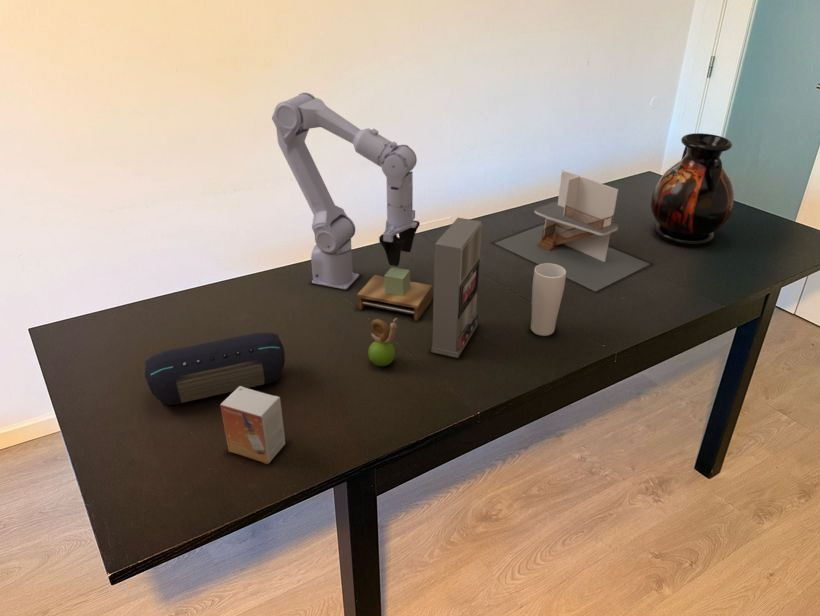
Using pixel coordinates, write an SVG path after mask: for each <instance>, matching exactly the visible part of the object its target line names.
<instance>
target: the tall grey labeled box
mask: <svg viewBox="0 0 820 616" xmlns="http://www.w3.org/2000/svg"><path fill="white" fill-rule="evenodd" d="M482 227H483V221H481V220H475V219H469V218H463V217H457V218H456V219H455V220H454V221H453V223H451V225H450V226H449V227H448V228H447V229H446V230H445V232H443V234H442V235H441V236H440V237H439V238H438V240H437V241H436V242H435V243H434V262H433V263H434V265H433V266H434V267H433V299H432V300H433V306H432V313H433V314H432V340H431V341H432V342H431V344H432V345H431V347H430V349H431V351H430V352H431V353H434V354H437V355H443V356H446V357H450V358H451V357H452V358H456V359H459V357H460V355H462V352H463V350H464V349H465V347H466V345H467V344H468V342H469V340H470V339H471V337H472V336H473V334H474V332H475V330H476V328H477V327H478V326H479V311H477V301H478V291H479V277H480V262H481V261H480V258H481V245H482V244H481V243H482V229H483V228H482Z"/></svg>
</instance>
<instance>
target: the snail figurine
mask: <svg viewBox="0 0 820 616" xmlns="http://www.w3.org/2000/svg"><path fill="white" fill-rule="evenodd" d="M397 322H398V317H395V318H394V319H392V322H390V324H389V325H388V324H387V322H386V321H384V320H383V319H380V318H375V319H373V320H372V321H371V323H370V330H371V333H370V335H371V336H370V337H372V339H373V340H374V341H373V342H372V343H371V344H370V345H369V347H368V349H367V350H368V351H367V352H368V353H367V355H368V359H369V360H370V362H371V363H372V364H374V365H375V366H378V367H386V366H388V365H390V364H392V362H394V360H395V357H396V349H395V346H394V344H393V343H392V342H393V341H394V339H395V337H396V333H397V332H396V331H397V329H398V325H397Z"/></svg>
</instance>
